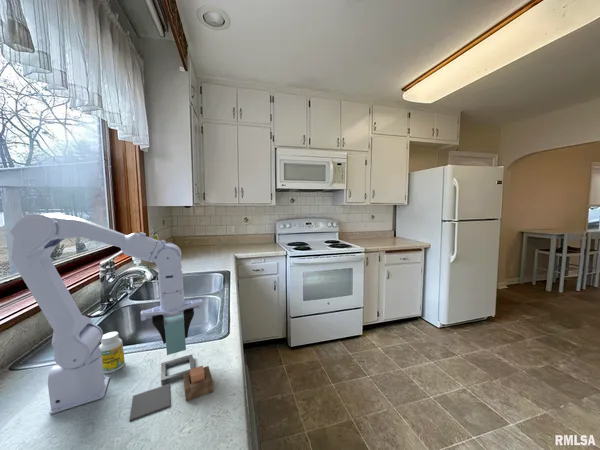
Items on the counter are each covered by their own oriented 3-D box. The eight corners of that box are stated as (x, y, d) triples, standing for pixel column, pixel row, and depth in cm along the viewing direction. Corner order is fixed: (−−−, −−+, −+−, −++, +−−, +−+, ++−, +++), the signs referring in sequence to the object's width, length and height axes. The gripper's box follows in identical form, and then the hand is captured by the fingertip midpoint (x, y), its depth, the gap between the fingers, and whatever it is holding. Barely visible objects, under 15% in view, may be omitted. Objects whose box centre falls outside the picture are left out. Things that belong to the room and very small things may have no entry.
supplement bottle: (125, 359, 75) (121, 328, 74) (124, 368, 70) (121, 336, 69) (102, 366, 72) (98, 333, 71) (100, 376, 67) (96, 342, 66)
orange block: (192, 392, 60) (190, 376, 60) (190, 384, 63) (189, 369, 62) (205, 387, 61) (204, 372, 61) (203, 380, 64) (202, 365, 64)
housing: (185, 401, 58) (184, 389, 58) (184, 385, 63) (183, 373, 63) (213, 391, 61) (212, 379, 60) (209, 376, 66) (208, 365, 66)
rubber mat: (129, 421, 53) (129, 419, 53) (133, 397, 60) (133, 395, 60) (170, 406, 57) (170, 405, 57) (169, 385, 63) (169, 383, 63)
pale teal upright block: (167, 355, 65) (164, 325, 65) (166, 346, 69) (164, 318, 68) (186, 349, 67) (183, 321, 67) (184, 341, 71) (182, 314, 71)
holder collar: (161, 385, 64) (160, 380, 63) (161, 367, 71) (161, 363, 70) (195, 373, 67) (195, 369, 67) (192, 358, 74) (192, 354, 74)
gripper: (137, 300, 60) (142, 355, 61) (202, 289, 67) (206, 338, 68) (140, 291, 66) (144, 341, 67) (199, 281, 73) (202, 327, 74)
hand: (175, 339), depth 68 cm, fingers closed on pale teal upright block, 4 cm apart
